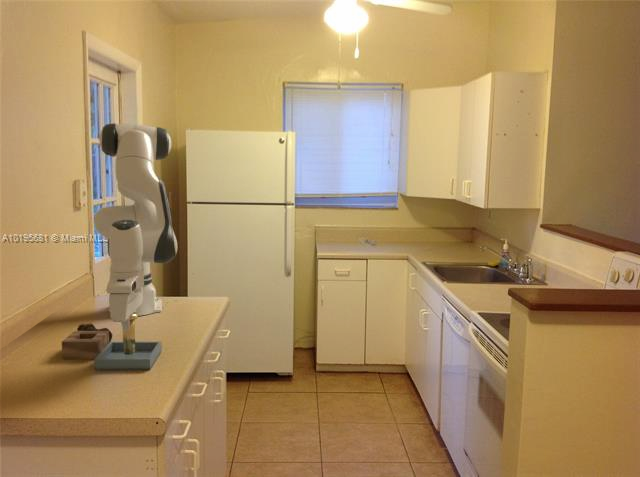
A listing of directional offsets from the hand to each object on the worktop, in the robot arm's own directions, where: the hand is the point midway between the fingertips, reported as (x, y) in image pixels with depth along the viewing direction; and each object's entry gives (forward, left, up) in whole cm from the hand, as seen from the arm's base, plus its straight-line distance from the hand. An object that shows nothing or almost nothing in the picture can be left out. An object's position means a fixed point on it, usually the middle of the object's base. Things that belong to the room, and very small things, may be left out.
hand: (128, 328), depth 160 cm
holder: (-6, -14, -9) cm, 18 cm away
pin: (0, 0, -7) cm, 7 cm away
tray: (0, 0, -9) cm, 9 cm away
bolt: (-19, -16, -10) cm, 26 cm away
